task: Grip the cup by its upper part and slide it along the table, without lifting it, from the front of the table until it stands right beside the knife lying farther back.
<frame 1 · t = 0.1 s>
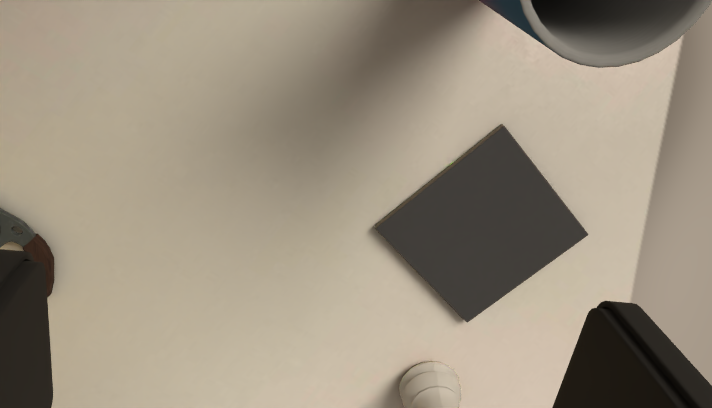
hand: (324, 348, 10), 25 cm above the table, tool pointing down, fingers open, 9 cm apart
coaster: (482, 228, 39), on the table
rook chess piece: (427, 379, 44), on the table
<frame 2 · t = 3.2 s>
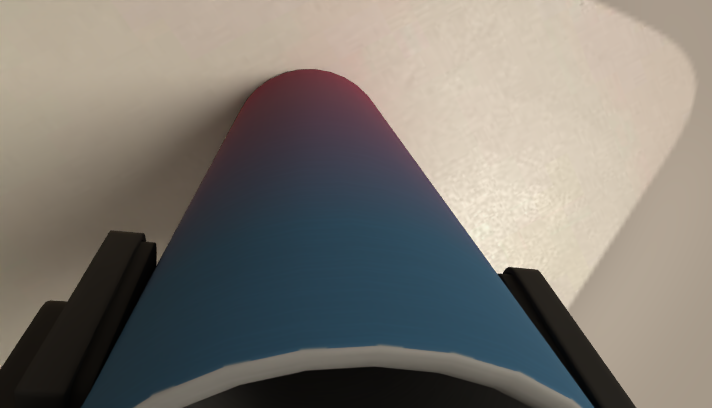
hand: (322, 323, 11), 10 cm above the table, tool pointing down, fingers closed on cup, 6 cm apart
cup: (309, 141, 20), on the table, touching gripper
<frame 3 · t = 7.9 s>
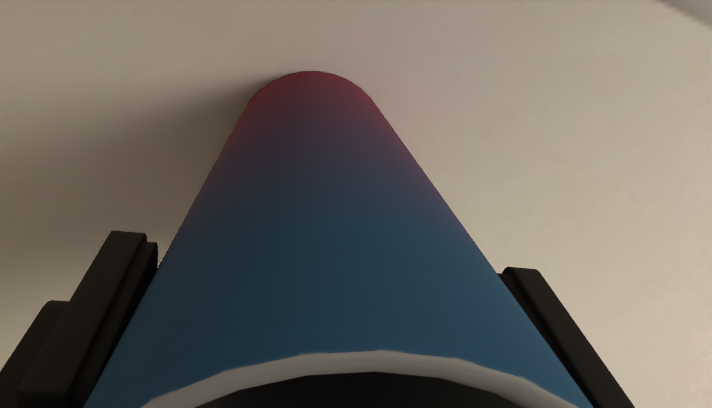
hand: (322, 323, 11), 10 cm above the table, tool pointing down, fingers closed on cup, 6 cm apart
cup: (312, 143, 20), on the table, touching gripper
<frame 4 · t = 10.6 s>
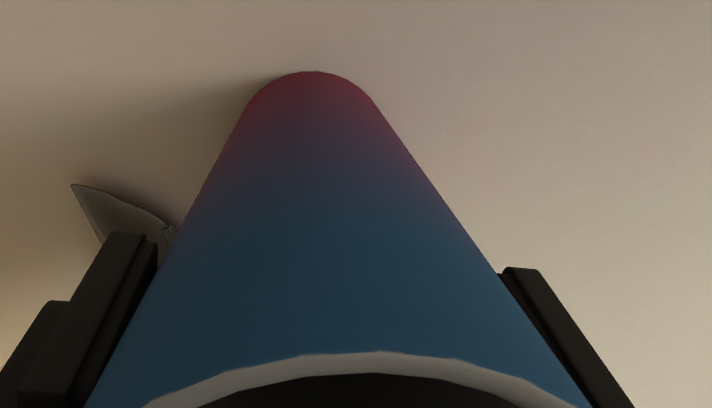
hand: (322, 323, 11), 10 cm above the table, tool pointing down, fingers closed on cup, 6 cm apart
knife: (181, 335, 23), on the table
cup: (312, 144, 20), on the table, touching gripper
when the fingers open (10 cm above the table, at t = 12.6 s): cup stays where it is, on the table.
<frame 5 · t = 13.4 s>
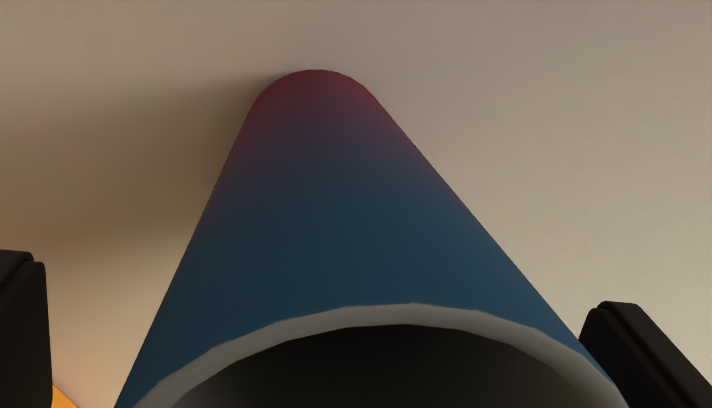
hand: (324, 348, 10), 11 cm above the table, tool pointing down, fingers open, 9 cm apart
cup: (316, 140, 21), on the table
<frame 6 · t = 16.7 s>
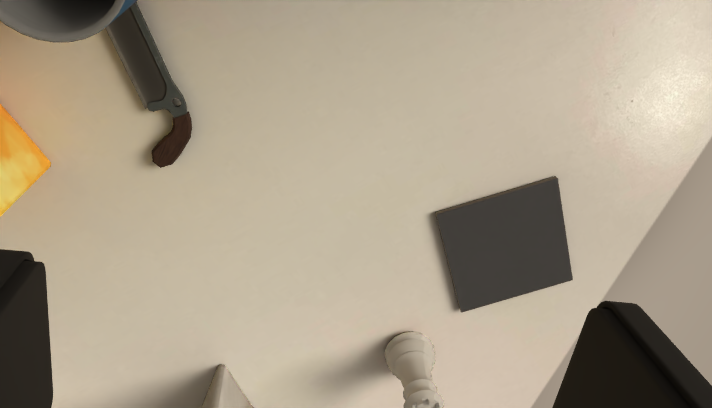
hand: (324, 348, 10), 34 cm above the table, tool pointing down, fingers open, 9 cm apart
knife: (140, 67, 41), on the table
coaster: (505, 245, 50), on the table
rook chess piece: (408, 347, 54), on the table
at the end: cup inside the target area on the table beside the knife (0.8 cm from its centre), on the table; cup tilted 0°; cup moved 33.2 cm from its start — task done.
